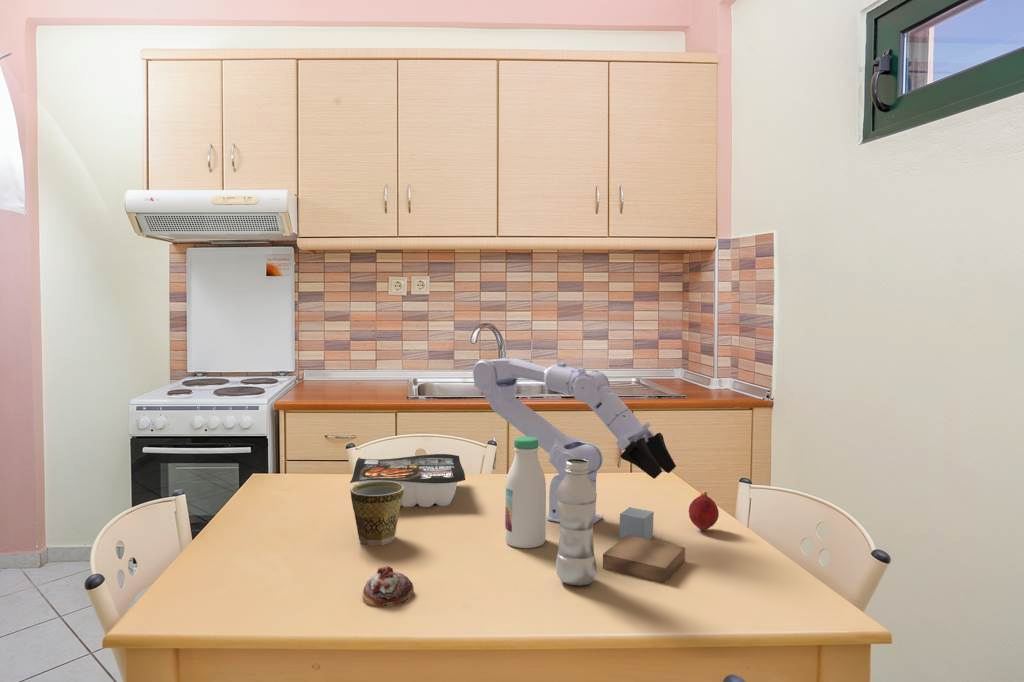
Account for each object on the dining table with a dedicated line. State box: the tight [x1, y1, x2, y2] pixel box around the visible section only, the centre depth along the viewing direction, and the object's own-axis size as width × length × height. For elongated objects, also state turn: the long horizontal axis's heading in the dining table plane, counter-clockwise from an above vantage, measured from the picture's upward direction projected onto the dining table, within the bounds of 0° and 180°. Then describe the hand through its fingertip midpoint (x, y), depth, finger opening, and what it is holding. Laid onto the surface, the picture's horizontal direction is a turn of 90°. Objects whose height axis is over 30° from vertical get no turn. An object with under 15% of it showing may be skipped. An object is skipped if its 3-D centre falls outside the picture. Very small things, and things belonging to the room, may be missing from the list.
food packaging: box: [349, 453, 466, 508], centre depth 153 cm, size 25×8×23 cm
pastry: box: [361, 565, 415, 607], centre depth 100 cm, size 8×8×5 cm
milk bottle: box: [504, 436, 547, 549], centre depth 123 cm, size 8×8×20 cm
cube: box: [619, 507, 655, 540], centre depth 127 cm, size 5×5×5 cm
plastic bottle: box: [555, 459, 598, 586], centre depth 105 cm, size 6×7×20 cm
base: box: [602, 535, 686, 584], centre depth 113 cm, size 11×11×2 cm
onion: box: [688, 490, 720, 532], centre depth 131 cm, size 6×6×8 cm
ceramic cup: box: [349, 481, 404, 546], centre depth 125 cm, size 13×10×10 cm
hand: (665, 472), depth 124 cm, fingers open, 7 cm apart
